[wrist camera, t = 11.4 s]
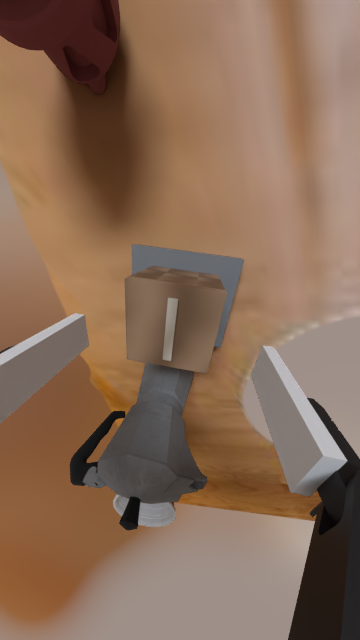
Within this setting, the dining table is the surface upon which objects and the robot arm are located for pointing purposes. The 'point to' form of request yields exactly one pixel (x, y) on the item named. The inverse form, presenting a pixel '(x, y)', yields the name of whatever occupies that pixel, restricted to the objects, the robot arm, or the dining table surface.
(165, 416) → the coffeepot
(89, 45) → the mechanical component
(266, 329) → the dining table surface
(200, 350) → the cardboard box
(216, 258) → the shaft stand
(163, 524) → the plastic cup
